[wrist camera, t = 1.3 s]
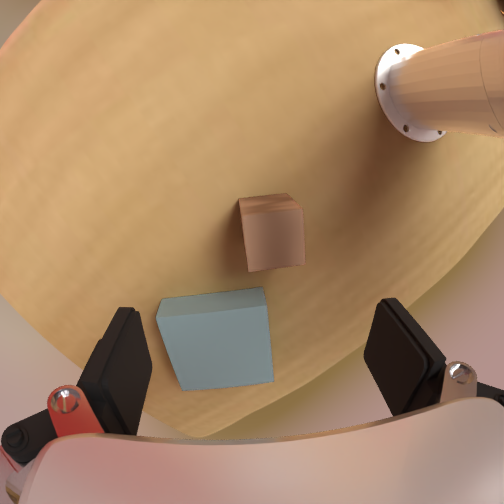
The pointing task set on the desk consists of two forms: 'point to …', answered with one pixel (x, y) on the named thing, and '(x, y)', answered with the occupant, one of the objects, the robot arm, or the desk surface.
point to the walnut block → (272, 232)
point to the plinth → (217, 339)
